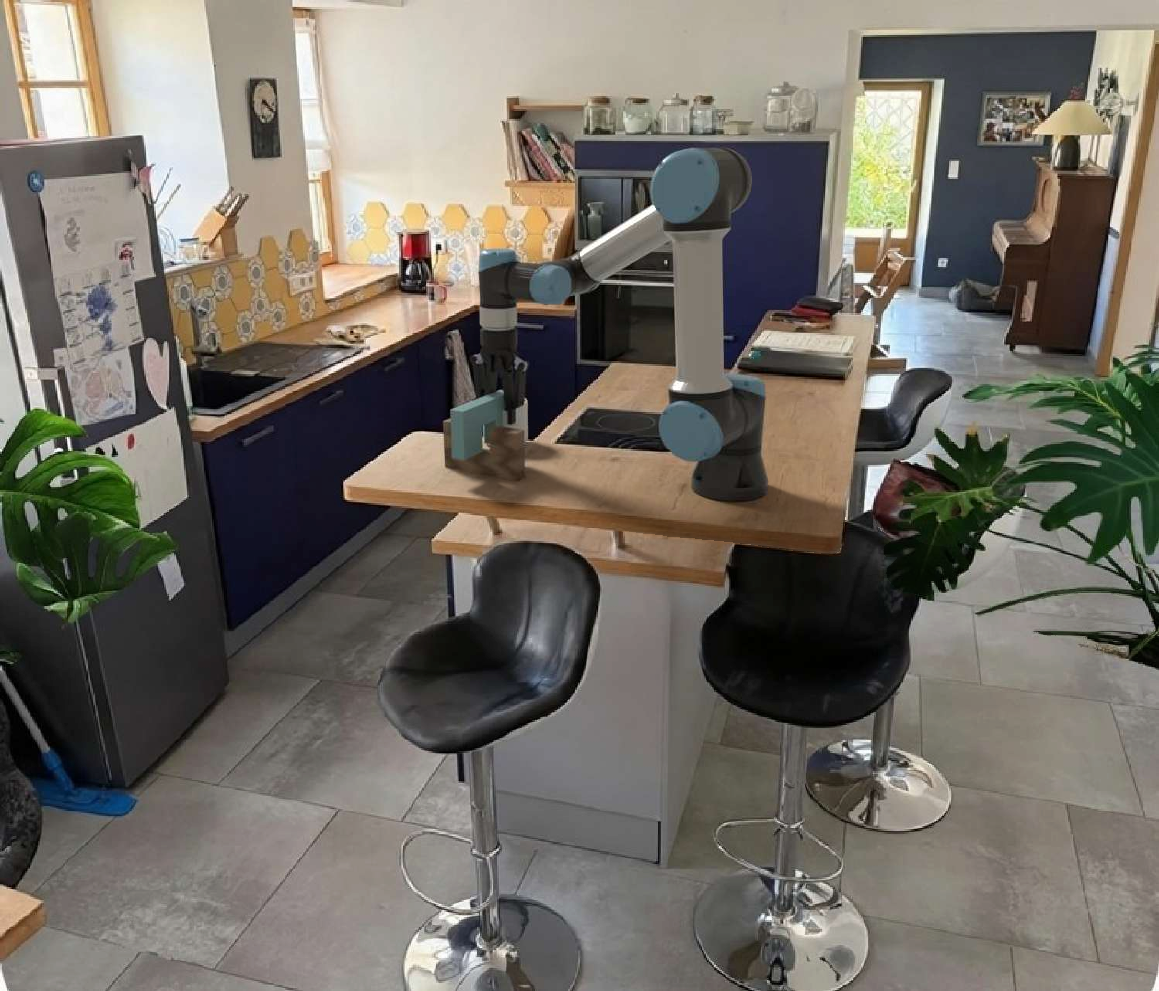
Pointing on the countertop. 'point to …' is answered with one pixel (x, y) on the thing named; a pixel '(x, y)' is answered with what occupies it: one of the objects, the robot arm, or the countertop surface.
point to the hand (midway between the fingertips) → (500, 436)
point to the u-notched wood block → (492, 454)
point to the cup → (521, 420)
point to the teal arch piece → (475, 424)
